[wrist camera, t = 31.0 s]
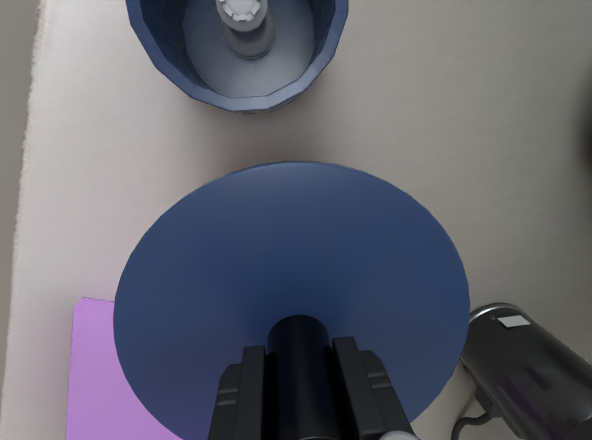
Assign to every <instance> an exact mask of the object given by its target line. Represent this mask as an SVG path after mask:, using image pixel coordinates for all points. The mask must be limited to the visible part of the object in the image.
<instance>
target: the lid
mask: <svg viewBox="0 0 592 440" xmlns="http://www.w3.org/2000/svg"><path fill="white" fill-rule="evenodd" d="M469 318H470V297H469V288H468V282H467V278H466V274H465V271H464V267H463V263H462V261H461V259H460V257H459V254H458V252H457V250H456V248H455V245H454V244H453V242H452V241H451V239H450V238H449V236H448V234H447V233H446V231H445V230H444V228H443V227H442V226H441V224H440V223H439V222H438V221H437V220H436V219H435V218H434V217H433V216H432V214H431V213H430V212H429V211H428V210H427V209H426V208H424V207H423V206H422V205H421V204H420V203H418V202H417V201H416V200H415V199H413V198H412V197H411V196H410V195H408V194H407V193H405V192H403V191H402V190H400V189H398V188H397V187H395V186H393V185H392V184H390V183H388V182H387V181H385V180H383V179H380V178H378V177H375V176H373V175H371V174H368V173H366V172H363V171H361V170H357V169H353V168H349V167H346V166H342V165H338V164H332V163H323V162H315V161H282V162H275V163H268V164H261V165H255V166H252V167H248V168H245V169H241V170H238V171H234V172H231V173H228V174H226V175H224V176H222V177H219V178H217V179H215V180H212V181H210V182H208V183H206V184H204V185H202V186H201V187H199V188H198V189H196V190H194V191H193V192H191V193H189V194H188V195H186V196H184V197H183V198H182V199H181V200H179V201H178V202H177V203H176V204H175V205H173V206H172V207H171V208H170V209H169V210H167V211H166V212H165V213H164V214H163V215H161V216H160V218H159V219H158V220H157V221H156V222H155V223H154V224H153V225H152V226H151V227H150V228H149V230H148V231H147V232H146V233H145V234H144V235H143V237H142V238H141V240H140V241H139V243H138V244H137V246H136V247H135V249H134V250H133V252H132V253H131V255H130V257H129V259H128V262H127V264H126V266H125V268H124V270H123V272H122V275H121V278H120V281H119V285H118V288H117V292H116V296H115V303H114V312H113V332H114V342H115V347H116V352H117V356H118V360H119V363H120V365H121V368H122V370H123V373H124V376H125V378H126V380H127V382H128V383H129V385H130V387H131V389H132V390H133V392H134V394H135V395H136V397H137V398H138V399H139V401H140V402H141V403H142V404H143V406H144V407H145V408H146V410H147V411H148V412H149V413H150V414H151V415H152V416H153V417H154V418H155V419H156V420H157V421H158V422H159V423H160V424H162V425H163V426H164V427H166V428H167V429H168V430H169V431H171V432H172V433H173V434H175V435H176V436H178V437H179V438H181V439H183V440H208V435H209V430H210V425H211V420H212V416H213V411H214V406H215V401H216V396H217V393H218V392H217V391H218V386H219V381H220V377H221V376H222V374H223V373H224V371H225V370H226V368H227V367H228V365H231V364H240V363H242V356H243V349H244V347H249V346H258V345H265V348H266V355H267V361H266V398H265V435H264V440H355V436H354V432H353V428H352V424H351V420H350V417H349V413H348V409H347V405H346V401H345V397H344V393H343V389H342V385H341V381H340V377H339V374H338V370H337V366H336V362H335V358H334V354H333V350H332V338H337V337H346V336H353V337H354V339H355V342H356V344H357V347H358V350H359V351H363V350H371V351H372V352H373V353H374V354H375V355H376V356H378V357H379V358H380V359H381V361H382V363H383V365H384V367H385V370H386V372H387V375H388V376H389V378H390V381H391V383H392V387H394V390H395V392H396V394H397V396H398V399H399V401H400V403H401V405H402V407H403V410H404V412H405V414H406V416H407V419H408V421H409V423H411V422H412V421H413V420H415V419H416V418H417V417H418V416H419V415H420V414H421V413H422V412H423V411H424V410H425V409H426V408H427V407H428V406H429V405H430V404H431V403H432V402H433V401H434V399H435V398H436V397H437V396H438V395H439V393H440V392H441V391H442V389H443V388H444V386H445V385H446V383H447V382H448V380H449V379H450V377H451V375H452V373H453V371H454V369H455V367H456V365H457V363H458V361H459V359H460V357H461V354H462V351H463V348H464V345H465V342H466V337H467V332H468V327H469Z"/></svg>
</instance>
